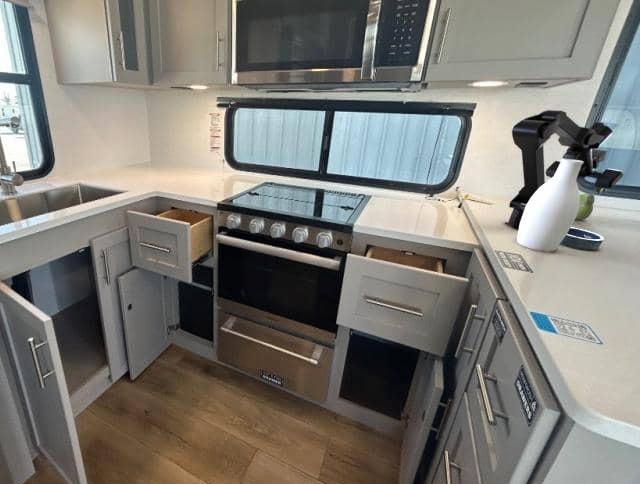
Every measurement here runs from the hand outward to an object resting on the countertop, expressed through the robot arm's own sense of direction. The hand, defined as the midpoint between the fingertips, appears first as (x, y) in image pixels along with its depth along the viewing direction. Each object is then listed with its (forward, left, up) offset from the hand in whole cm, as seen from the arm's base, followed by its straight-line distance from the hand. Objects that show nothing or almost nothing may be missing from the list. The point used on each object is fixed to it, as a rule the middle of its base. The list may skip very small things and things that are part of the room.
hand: (583, 189), depth 119 cm
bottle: (-30, -32, -12) cm, 46 cm away
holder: (-16, -26, -12) cm, 33 cm away
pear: (+5, +3, -12) cm, 14 cm away
